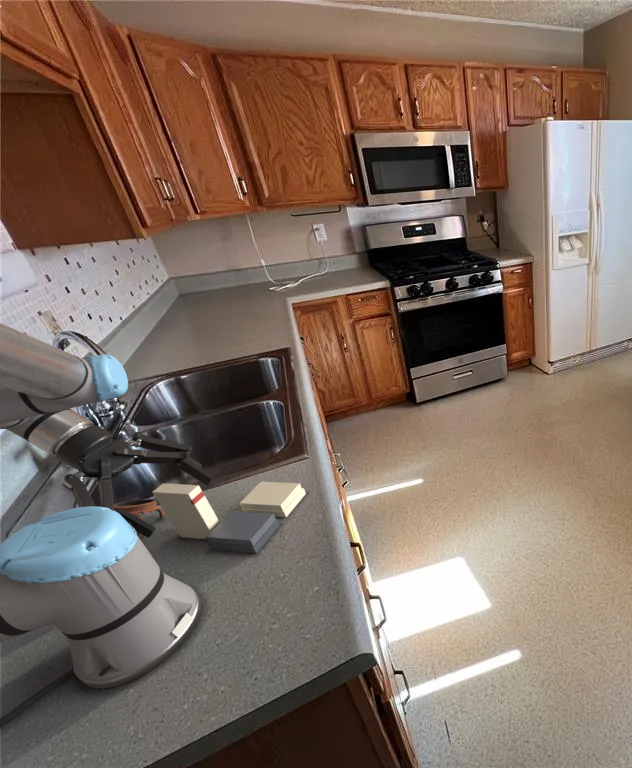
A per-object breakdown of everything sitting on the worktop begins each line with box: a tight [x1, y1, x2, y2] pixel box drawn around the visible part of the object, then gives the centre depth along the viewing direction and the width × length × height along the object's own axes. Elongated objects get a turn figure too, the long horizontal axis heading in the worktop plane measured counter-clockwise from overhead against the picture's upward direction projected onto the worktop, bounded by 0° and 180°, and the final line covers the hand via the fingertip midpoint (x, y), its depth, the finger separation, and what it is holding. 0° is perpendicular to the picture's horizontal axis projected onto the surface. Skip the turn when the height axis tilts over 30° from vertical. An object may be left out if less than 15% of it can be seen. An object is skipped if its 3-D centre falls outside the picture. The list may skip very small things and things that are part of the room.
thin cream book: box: [152, 482, 221, 540], centre depth 80 cm, size 2×8×12 cm, turn 81°
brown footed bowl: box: [114, 498, 165, 541], centre depth 84 cm, size 12×10×8 cm
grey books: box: [206, 510, 281, 554], centre depth 81 cm, size 7×10×3 cm
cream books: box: [239, 481, 307, 518], centre depth 89 cm, size 7×10×3 cm
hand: (184, 505), depth 80 cm, fingers open, 13 cm apart
